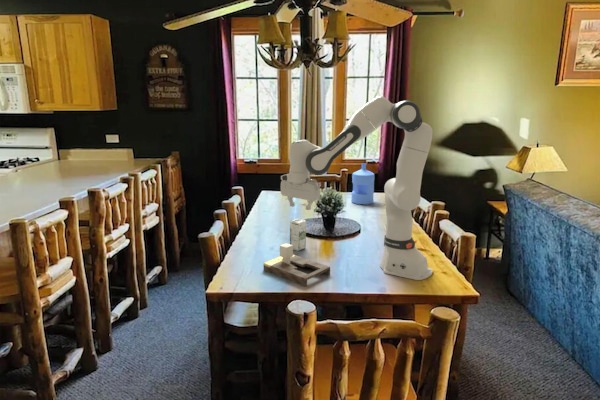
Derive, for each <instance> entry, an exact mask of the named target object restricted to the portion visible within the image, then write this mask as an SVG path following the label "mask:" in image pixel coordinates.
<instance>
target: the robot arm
mask: <svg viewBox="0 0 600 400" xmlns="http://www.w3.org/2000/svg"><path fill="white" fill-rule="evenodd" d="M388 122H389V123H391V124H392V125H394V126H395V127H397V128H399V129H403V131H404V138H403V141H402V145H401V149H400V151H399V155H398V158H397V161H396V175H395V177H393V178H390V179H388V180H387V181H386V182H385V184H384V187H383V189H384V190H383V191H384V200H385V201H384V203H385V205H384V206H385V215H386V217H385V218H386V221H385V222H386V223H385V235H384V240H383V246H384V249H383V255H382V258H381V262H380V264H379V266H380V268H381V269H382V270H383V273H385V274H387V275H392V276H397V277H401V278H404V279H409V280H414V281H422V280H426V279H428V278H429V277H431V276H432V275H433V274H434V272H433V271H434V269H433V268H431V267H428V265H429V263H428V259H427V256H425V255H424V254H423V253H422V252H421V251H420V250H419V249H418V248H417V247H416V244H417V241H418V239H416V240H414V238H413V237H412V235H413V219H414V218H413V215H412V211H413V210H415V209H416V208H417V207H418V206H419V205H420V204H421V203H420V202H421V186H422V179H423V172H424V169H425V165H426V161H427V159H428V156H429V153H430V149H431V147H432V146H431V145H432V141H433V132H434V131H433V128H432V126H431V125H430V124H428V123H426V122H423V118H422V113H421V110H420V107H419V105H418V104H417V103H416V102H414V101H412V100H407V99H406V100H401V101H398V102H397V103H392V102H391V101H390V100H389V98H386V97H385V96H381V95H379V96H376V97H375V98H373V99H371V100H369V101H368V102H367V103H365V104H364V105H362V106H361V107H360V108H359V109H357V110H356V111H355V112H354V113H353V114H352V116H351V117H350V118H349V119H348V120H347V122H346V123H345V125H344V127H343V129H342V131H341V132H340V133H339V134H338V135H336V137H334V139H332V140H331V141H330V142H329V143H328V144H327V145H325V146H324V147H322V146H318V145H316V144H314V143H312V142H310V141H309V139H299V140H295V141H293V142H292V143H290V145H289V152H288V153H289V155H288V162H289V165H290V166H289V171H288V173H286V174H283V175H280V180H281V181H280V194H281V195H282V196H283V197H287V200H288V203H289V207H295V205H296V203H295V202H296V201H294V200H293V199H294V198H295V199H300V200H305V201H307V205H305V210H307V211H310V210H311V209H312V205H313V203H314V202H317V201H319V200H320V199H321V194H320V193H321V192H320V185H319V184H320V183H319V182H318V181H317V180H316V179H315V178H311V175H315V176H321V175H324V174H326V173H328V172H327V171H329V169H330V167H331V165H332V163H333V161H335V160H336V158H338V157H339V156H340V155H341V154H342V153H344V152H345V151H346V150H347V149H349V147H350V146H352V145H353V144H355V143H357V142H359V141H360V140H362V139H364V138H366V137H367V136H369V135H371V134H372V133H373V132H375V131H376V130H377V129H379V128H380V127H381V126H382V125H384V124H385V123H388Z"/></svg>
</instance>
